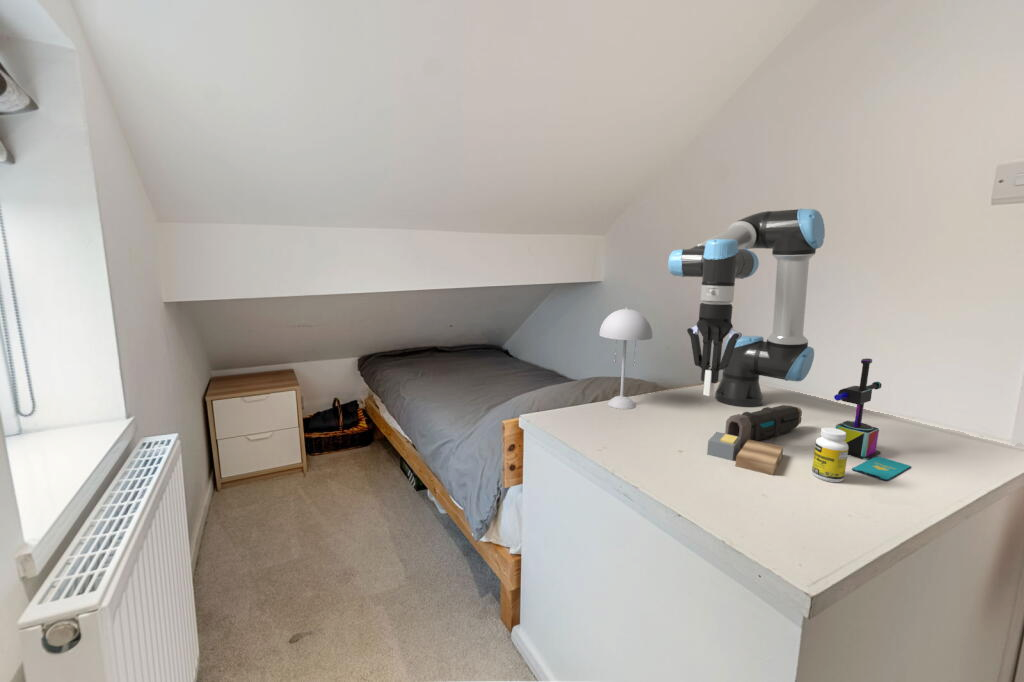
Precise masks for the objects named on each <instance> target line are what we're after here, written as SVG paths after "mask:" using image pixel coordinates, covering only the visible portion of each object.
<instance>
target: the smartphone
mask: <svg viewBox="0 0 1024 682" xmlns="http://www.w3.org/2000/svg"><path fill="white" fill-rule="evenodd" d="M909 469H912V466H910V464H906V463H904V462H900V461H896V460H894V459H888V458H885V457H882V456H879V455H877V456H875V457H873V458H871V459H869V460H865V461H864V462H862V463H860V464H858V465H856V466H854V467H852V468H851V470H852V472H855V473H858V474H861V475H865V476H868V477H871V478H874V479H877V480H879V481H883V482H889V481H891V480H893V479H895V478H896V477H898V476H900V475H901V474H903V473H904V472H906V471H908V470H909Z"/></svg>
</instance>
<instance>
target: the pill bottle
mask: <svg viewBox="0 0 1024 682" xmlns="http://www.w3.org/2000/svg"><path fill="white" fill-rule="evenodd" d="M820 430H821V431H820V435H821V436H820V437H818V438H816V440H815V444H814V453H813V459H812V465H811V473H812V475H813V476H814V477H815V478H817V479H820V480H822V481H824V482H828V483H830V482H831V483H840V482H842V481H844V479H845V476H846V475H845V473H846V467H847V459H848V455H847V454H848V444H847V443H846V442H845V441H844V440H845V439H846V432H844V431H842V430H839V429H836V427H835V428H834V427H822V428H821V429H820Z"/></svg>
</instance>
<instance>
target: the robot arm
mask: <svg viewBox="0 0 1024 682" xmlns="http://www.w3.org/2000/svg"><path fill="white" fill-rule="evenodd" d="M825 229H826V228H825V222H824V218H823V216H822V214H821V212H820V211H819V210H817V209H814V208H798V209H786V210H772V211H771V210H768V211H761V212H757V213H753V214H751V215H748V216H746V217H743V218H741V219H739V220H737V221H734V222H733V223H731V224H730V225H729V226H728V227H727V228H726V230H724V231H722V232H720V233H717V234H716V235H715V236H712V237H711V238H709V239H707V240H705V241H703V242H700V243H699V244H697V245H695V246H693V247H691V248H686V249H684V248H681V249H674V250H673V251H672V252H671V253H670V254H669V257H668V262H667V264H668V270H669V273H670V274H671V275H672V276H675V277H682V278H689V277H690V278H701V279H702V281H701V290H700V299H699V300H700V301H701V303H700V304H699V311H698V313H699V314H698V315H699V316H698V320H697V322H696V325H694V326H693V327H689V328H687V330H686V331H687V334H688V336H689V338H690V344H691V350H692V356H693V357H692V358H693V362H694V363H693V364H694V366H697V367H699V368H701V374H700V380H701V382H704V383H703V393H702V395H703V396H707V397H711V396H713V395H715V397H714V398H715V400H716V401H718V402H721V403H723V404H726V405H733V406H738V407H747V408H748V407H752V408H753V407H760V406H761V405H762V404H763V400H764V399H763V393H762V390H761V386H760V376H762V377H767V378H772V379H773V378H774V379H778V380H784V381H787V382H788V381H792V382H802V381H803V380H805V378H806V377H807V376H808V374H809V372H810V370H811V369H812V365H813V362H814V358H815V349H814V348H813V347H811V346H808V345H809V339H807V337H806V336H805V335H804V329H805V328H804V327H805V313H806V303H807V302H806V300H807V292H808V291H807V289H808V277H809V268H810V267H809V264H810V259H812V258H813V257H814V256H815V255H816V252H817V249H820V248H821V247H823V244H824V239H825V236H826V235H825V232H826V230H825ZM751 249H765V250H766V249H767V250H768V249H770V250H771V249H772V252H771V253H772V254H771V255H772V256H773V257H774V258H775V259H776V277H775V288H774V289H775V291H774V293H775V294H774V303H773V304H774V305H773V306H774V307H773V308H774V309H773V321H772V333H771V334H770V335H769V336H767V338H766V340H764V337H763V336H761V335H760V336H759V335H743V334H742V333H741V332H738V331H737V330H736V329H734V325H733V324H732V316H733V307H734V306H733V305H732V303H733V302H734V294H735V286H736V285H735V283H736V279H738V280H739V279H741V280H742V279H743V280H745V278H750V277H751V276H753V275H754V274H755V273H756V272H757V270H758V269H759V265H760V264H759V263H760V262H759V257H758V255H757V254H756V253H755V252H754V251H752V250H751ZM699 333H700V334H701V336H702V347H701V341H700V340H701V339H700V336H699ZM728 334H729V335H728ZM727 336H728V338H727V339H726V342H725V346H724V349H723V343H724V339H725V338H726V337H727ZM712 345H713V347H712ZM722 349H723V351H724V352H723V351H722ZM712 350H713V351H712ZM722 352H723V355H722ZM711 356H712V358H711ZM711 359H712V361H711ZM710 364H711V365H710ZM720 371H722V378H721V380H720V382H719V373H720ZM718 382H719V384H718V385H717V389H716V390H715V394H714V388H715V384H717V383H718Z"/></svg>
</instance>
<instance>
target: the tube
mask: <svg viewBox="0 0 1024 682" xmlns="http://www.w3.org/2000/svg"><path fill="white" fill-rule="evenodd" d="M802 414H803V410H802V409H801V407H798V406H792V405H784V404H782V405H778V406H774V407H769V406H766V407H763V408H762V409H761V410H757V411H752V412H750V411H743V413H741V414H740V413H738V414H733V415H730V416H729V417H728V418H727V419H726V421H725V431H724V432H725V434H729V435H734V436H739V437H741V443H740V448H743V446H744V445H745V444H746V442H747V441H748V439H749V440H754V441H758V442H759V441H761V440H764V439H765V440H766V439H773V438H776V437H777V436H780V435H782V434H787V433H789V432H791V431H793V430H794V429H796V428H797V427H798V426H799V425H800V424H801V423H802Z"/></svg>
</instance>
